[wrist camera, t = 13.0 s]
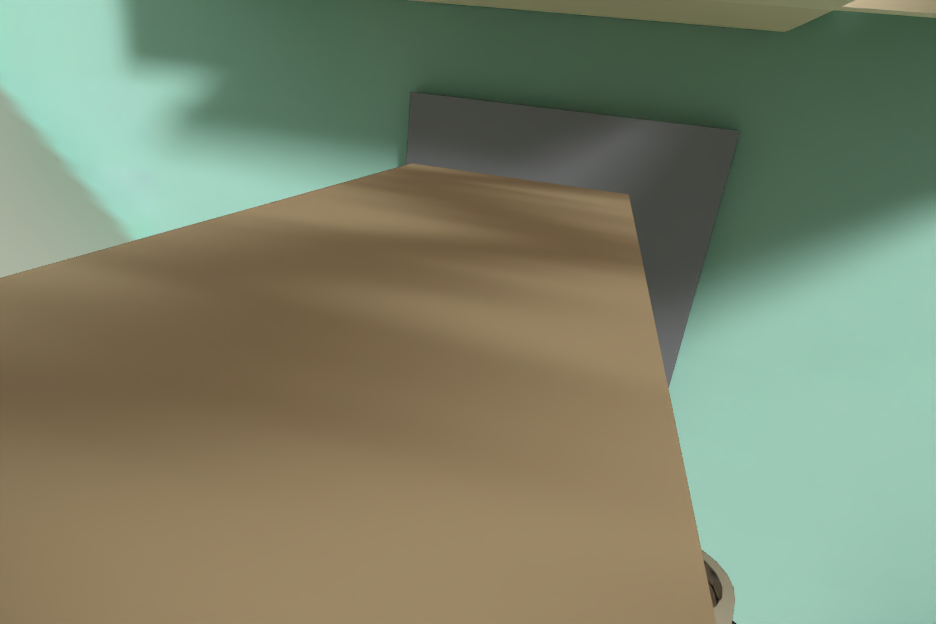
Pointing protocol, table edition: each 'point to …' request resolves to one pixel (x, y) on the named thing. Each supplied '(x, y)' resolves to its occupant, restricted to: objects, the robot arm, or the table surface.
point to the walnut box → (349, 418)
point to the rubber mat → (597, 178)
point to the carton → (714, 10)
